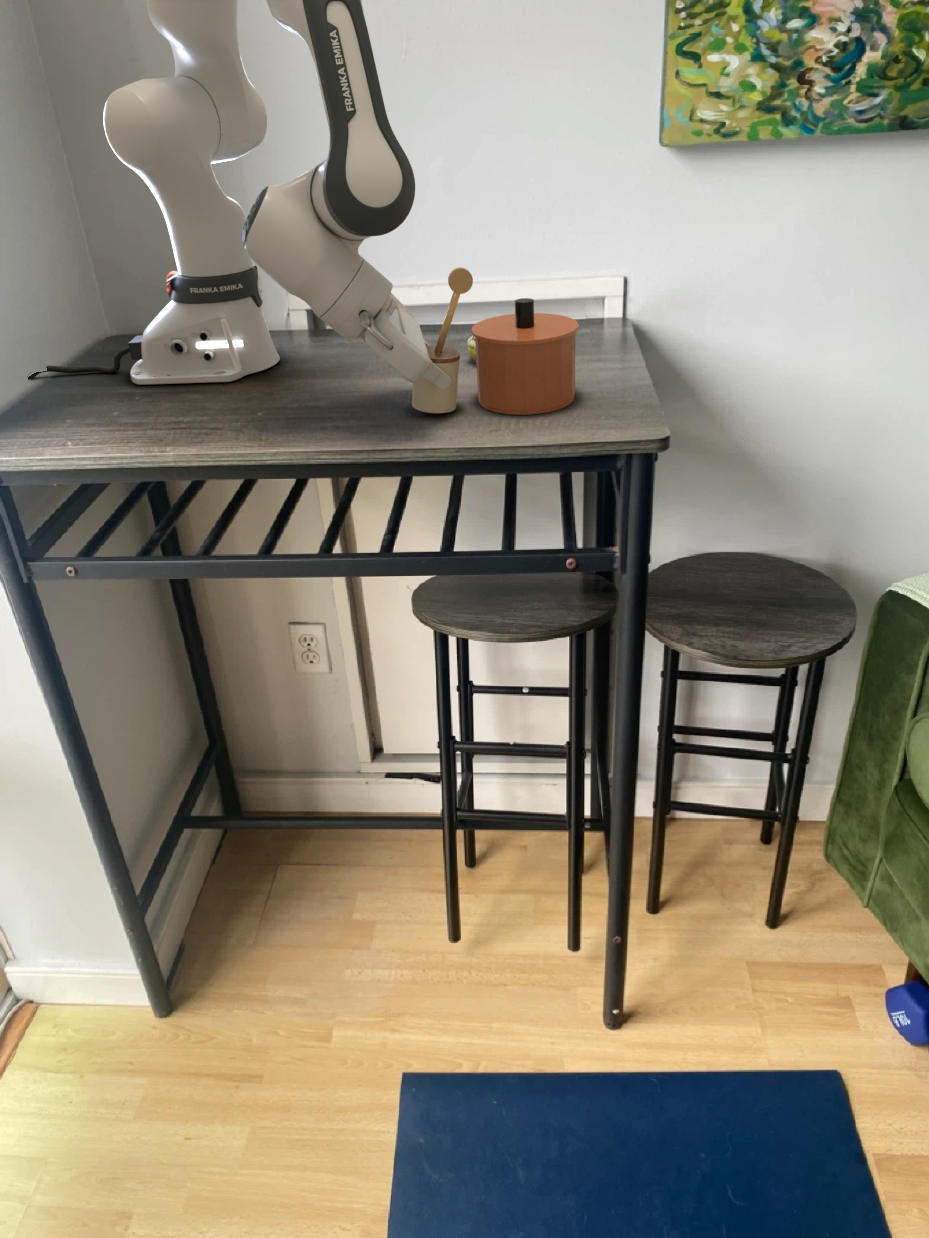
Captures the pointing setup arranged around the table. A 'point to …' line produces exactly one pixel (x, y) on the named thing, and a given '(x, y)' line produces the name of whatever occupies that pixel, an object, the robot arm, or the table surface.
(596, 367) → the table surface
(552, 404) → the pot
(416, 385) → the crock
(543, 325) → the pot lid
